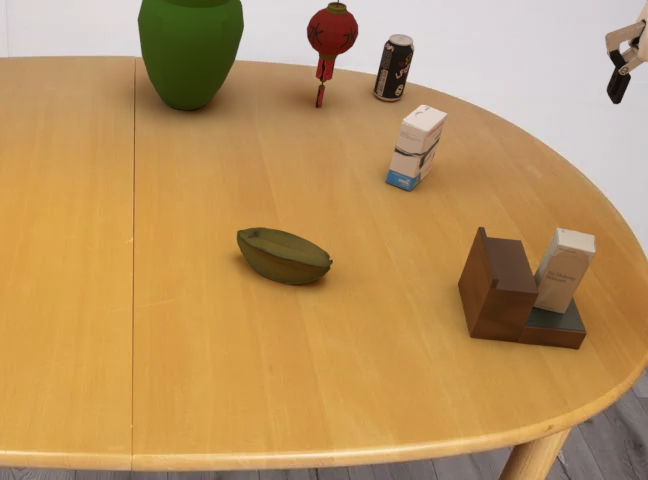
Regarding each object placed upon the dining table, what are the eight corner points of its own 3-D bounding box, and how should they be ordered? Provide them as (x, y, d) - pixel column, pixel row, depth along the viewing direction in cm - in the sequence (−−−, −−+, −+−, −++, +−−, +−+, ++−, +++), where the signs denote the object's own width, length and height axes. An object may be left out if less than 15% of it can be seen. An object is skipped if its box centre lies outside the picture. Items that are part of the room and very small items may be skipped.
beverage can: (402, 92, 177) (417, 35, 168) (400, 105, 173) (415, 47, 164) (374, 87, 178) (388, 30, 170) (371, 100, 174) (384, 42, 166)
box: (527, 306, 123) (555, 243, 116) (527, 288, 127) (554, 225, 119) (566, 315, 122) (597, 252, 115) (565, 296, 125) (595, 233, 118)
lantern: (319, 90, 176) (349, -65, 155) (352, 110, 170) (387, -48, 150) (284, 102, 172) (309, -57, 151) (316, 123, 166) (347, -39, 146)
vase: (132, 123, 163) (136, -8, 146) (136, 75, 177) (141, -49, 161) (236, 129, 163) (252, -1, 146) (232, 80, 177) (247, -43, 161)
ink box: (410, 192, 149) (428, 131, 141) (384, 182, 152) (400, 121, 144) (430, 172, 155) (449, 112, 147) (405, 162, 157) (421, 102, 149)
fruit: (266, 301, 127) (272, 266, 122) (230, 254, 135) (235, 218, 130) (334, 285, 130) (343, 250, 126) (295, 239, 138) (302, 204, 134)
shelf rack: (559, 294, 131) (586, 237, 124) (578, 349, 122) (609, 290, 115) (457, 283, 132) (478, 226, 124) (470, 337, 123) (493, 278, 116)
